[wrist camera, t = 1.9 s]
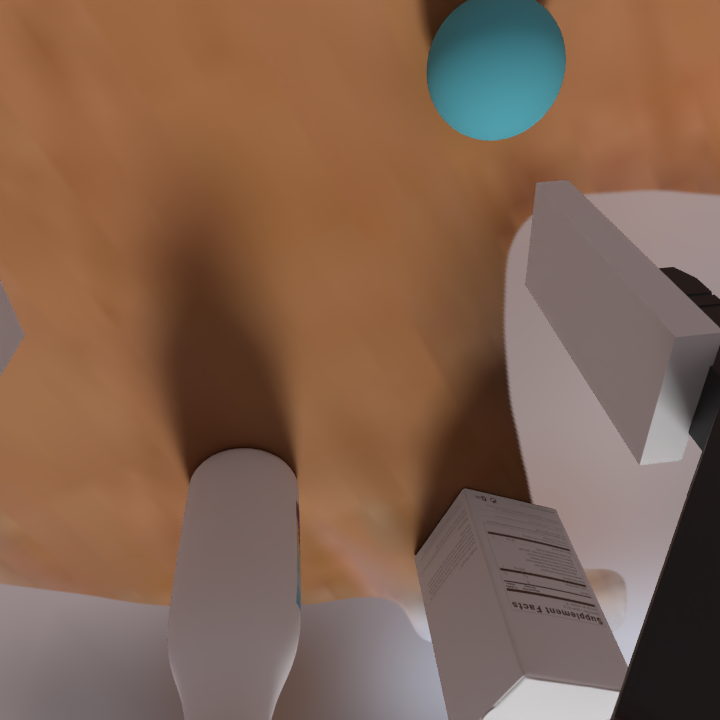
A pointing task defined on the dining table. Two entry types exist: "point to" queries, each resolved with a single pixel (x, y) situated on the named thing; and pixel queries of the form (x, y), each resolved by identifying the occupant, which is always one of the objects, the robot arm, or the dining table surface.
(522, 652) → the supplement box
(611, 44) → the dining table surface
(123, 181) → the dining table surface
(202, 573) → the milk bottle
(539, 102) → the ball
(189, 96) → the dining table surface
